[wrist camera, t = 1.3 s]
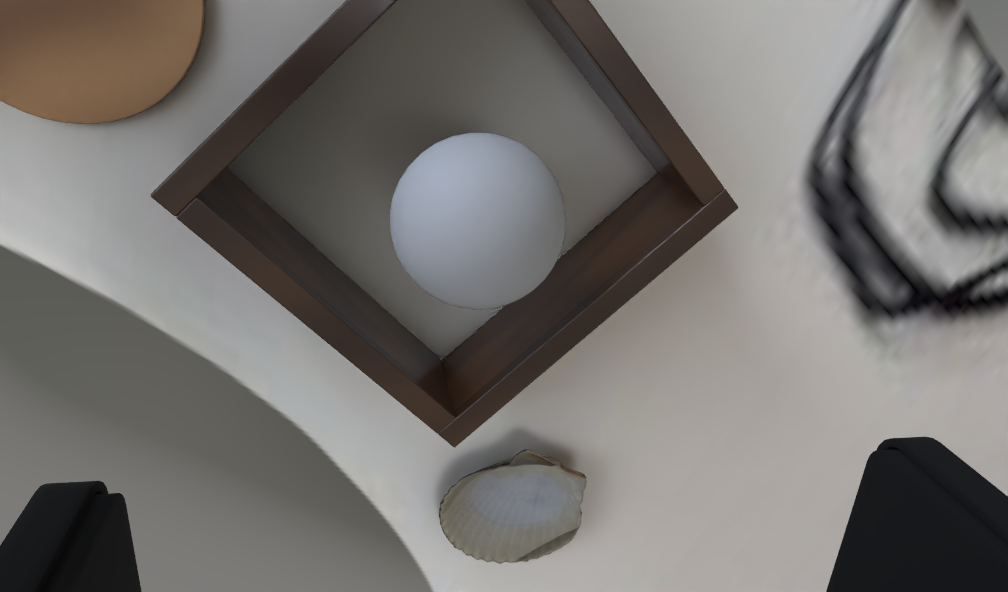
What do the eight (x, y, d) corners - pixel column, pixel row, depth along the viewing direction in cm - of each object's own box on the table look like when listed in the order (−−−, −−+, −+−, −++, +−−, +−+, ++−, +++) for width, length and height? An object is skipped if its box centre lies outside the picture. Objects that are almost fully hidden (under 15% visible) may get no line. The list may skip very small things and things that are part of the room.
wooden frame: (183, 158, 30) (148, 196, 25) (464, -120, 28) (488, -141, 23) (441, 383, 37) (454, 448, 32) (683, 173, 34) (739, 207, 29)
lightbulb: (508, 235, 34) (571, 342, 24) (378, 227, 33) (388, 337, 23) (526, 104, 32) (604, 164, 22) (386, 89, 30) (402, 146, 20)
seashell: (421, 491, 41) (526, 568, 43) (409, 528, 39) (522, 608, 40) (512, 402, 38) (622, 487, 40) (505, 434, 36) (624, 525, 37)
